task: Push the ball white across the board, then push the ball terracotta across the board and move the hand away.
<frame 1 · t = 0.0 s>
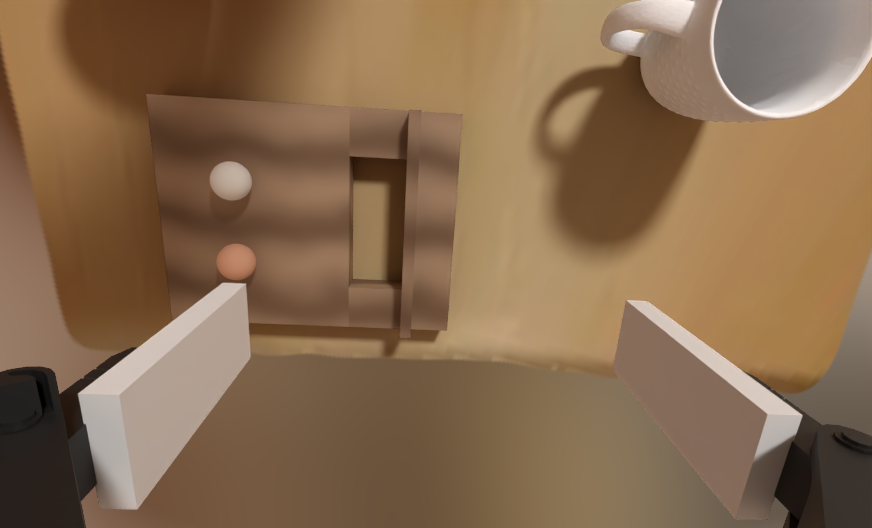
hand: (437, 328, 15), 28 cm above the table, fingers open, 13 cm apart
board: (315, 217, 42), on the table
ball terracotta: (236, 261, 39), point 4 cm above the table, touching board
ball white: (231, 181, 37), point 4 cm above the table, touching board
mug: (665, 57, 40), on the table
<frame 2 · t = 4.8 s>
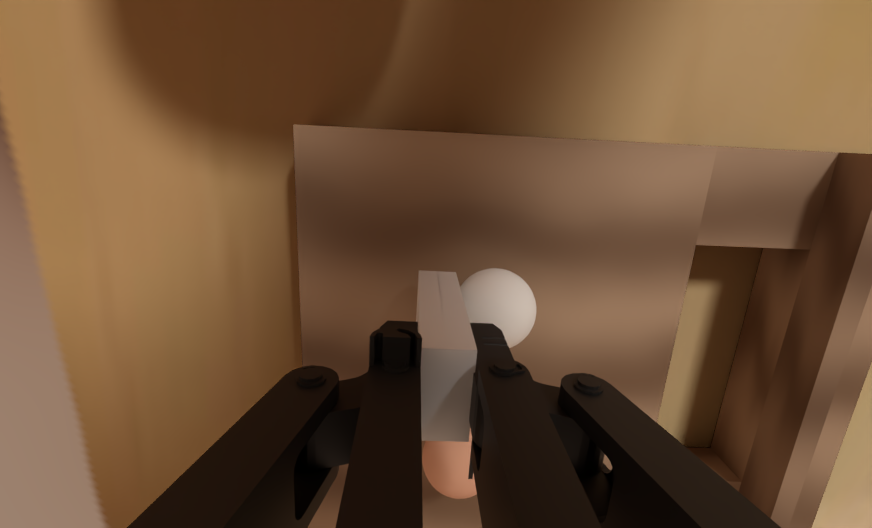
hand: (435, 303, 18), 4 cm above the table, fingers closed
board: (574, 345, 23), on the table
ball terracotta: (458, 457, 19), point 4 cm above the table, touching board
ball white: (494, 309, 17), point 4 cm above the table, tilted 32°, touching board, gripper
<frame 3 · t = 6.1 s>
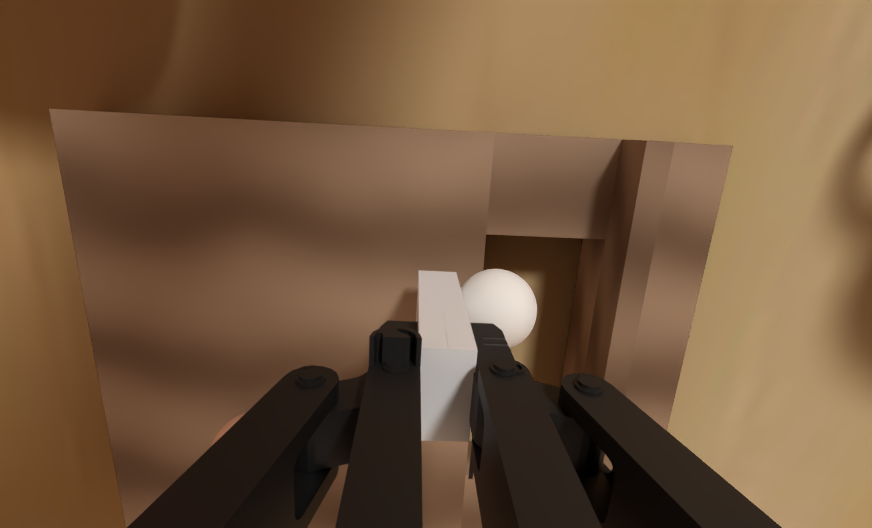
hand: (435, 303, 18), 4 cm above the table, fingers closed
board: (399, 337, 22), on the table
ball white: (495, 309, 18), point 4 cm above the table, tilted 59°, touching board
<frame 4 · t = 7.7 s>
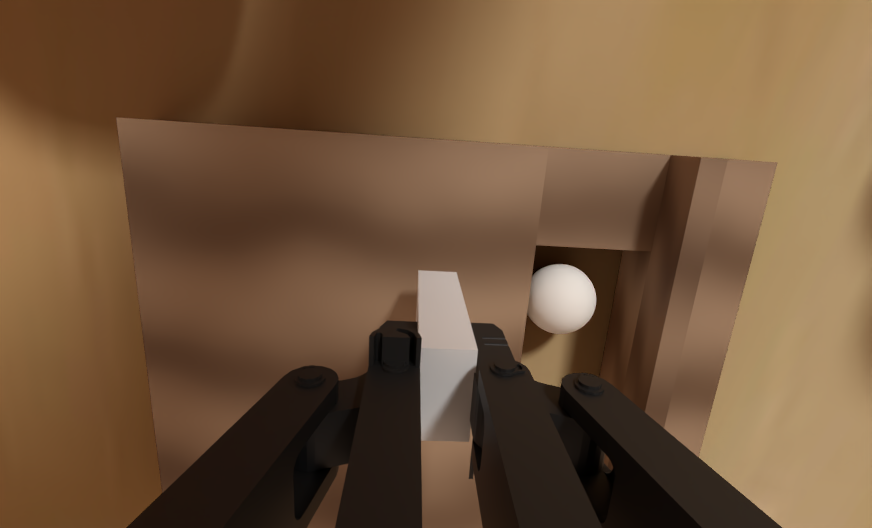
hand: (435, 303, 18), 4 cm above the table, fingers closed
board: (440, 344, 23), on the table
ball white: (559, 298, 20), point 2 cm above the table, tilted 15°
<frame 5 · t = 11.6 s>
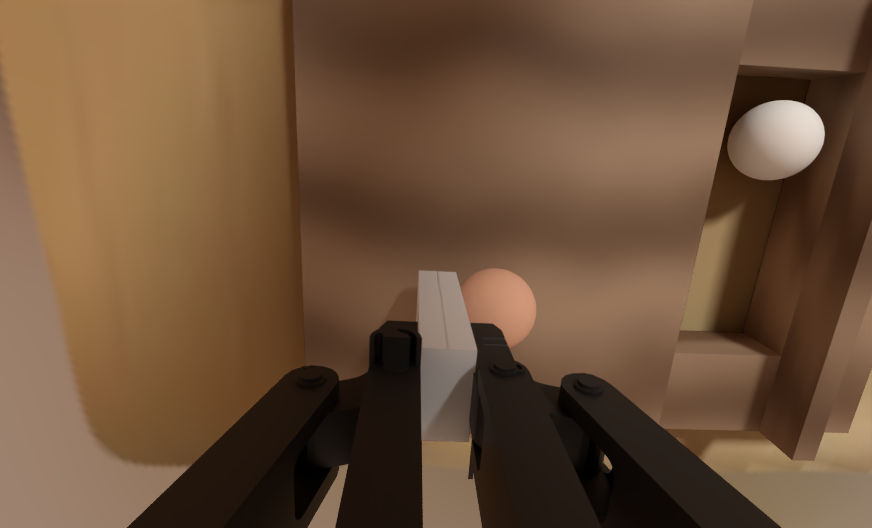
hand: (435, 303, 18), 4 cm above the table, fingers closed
board: (597, 208, 21), on the table
ball terracotta: (494, 309, 17), point 4 cm above the table, tilted 28°, touching board, gripper
ball white: (773, 141, 18), point 2 cm above the table, tilted 55°
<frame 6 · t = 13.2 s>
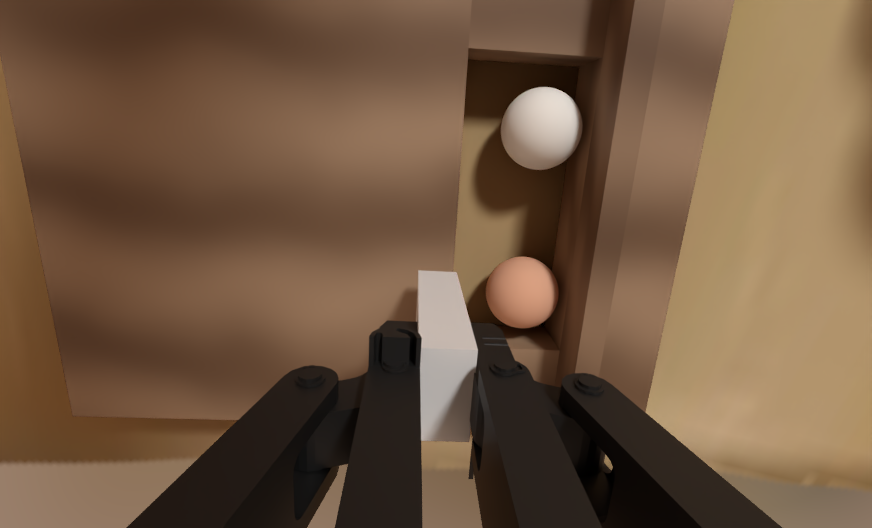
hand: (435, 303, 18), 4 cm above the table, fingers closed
board: (375, 198, 20), on the table
ball terracotta: (521, 292, 20), point 2 cm above the table, tilted 71°
ball white: (540, 129, 18), point 2 cm above the table, tilted 72°
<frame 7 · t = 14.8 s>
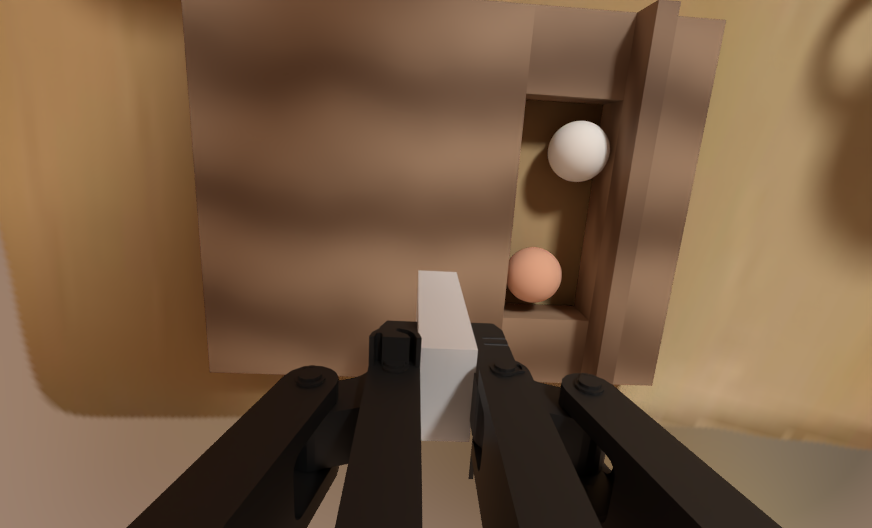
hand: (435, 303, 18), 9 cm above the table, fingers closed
board: (445, 203, 26), on the table
ball terracotta: (532, 274, 26), point 2 cm above the table, tilted 15°
ball white: (578, 151, 24), point 2 cm above the table, tilted 76°
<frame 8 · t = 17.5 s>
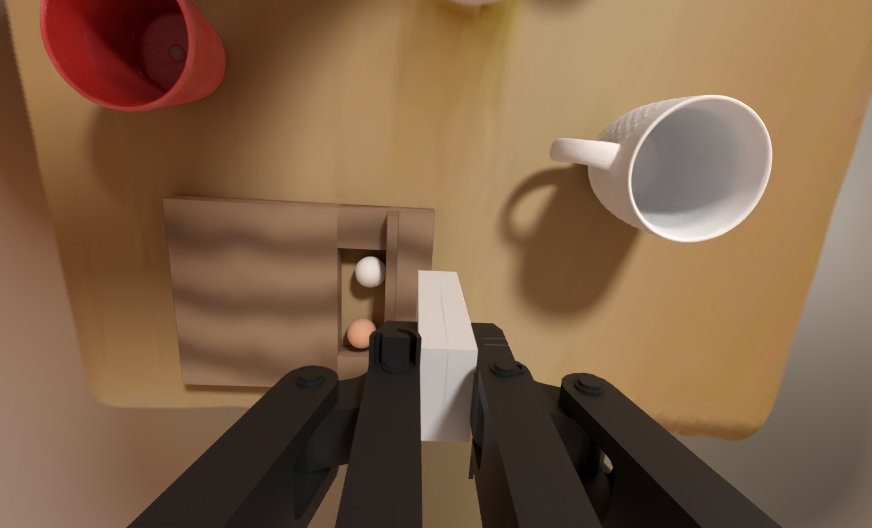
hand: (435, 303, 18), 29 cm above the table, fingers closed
board: (308, 294, 48), on the table
flower pot: (185, 56, 41), on the table
ball terracotta: (362, 333, 48), point 2 cm above the table, tilted 43°
ball white: (370, 271, 46), point 2 cm above the table, tilted 73°
mug: (612, 159, 46), on the table
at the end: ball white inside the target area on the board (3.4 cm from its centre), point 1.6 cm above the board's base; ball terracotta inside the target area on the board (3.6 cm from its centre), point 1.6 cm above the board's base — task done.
